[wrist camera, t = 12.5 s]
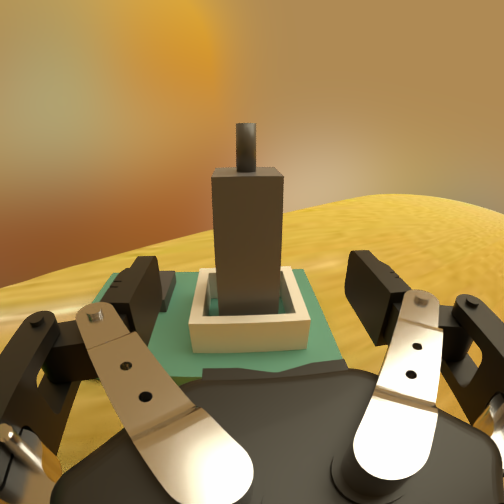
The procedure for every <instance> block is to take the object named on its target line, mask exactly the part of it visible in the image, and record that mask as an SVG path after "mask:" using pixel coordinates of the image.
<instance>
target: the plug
mask: <svg viewBox="0 0 504 504" xmlns="http://www.w3.org/2000/svg"><path fill="white" fill-rule="evenodd" d="M236 166H237V167H235V168H234V167H233V168H216V169H215V171H214V173H213V175H212V177H211V181H212V207H213V229H214V248H215V265H216V281H217V295H218V309H219V316H244V315H271V314H278V309H279V290H280V270H281V246H282V219H283V184H284V176H283V175H282V174H281V173H280V172H279V171H278V170H277V169H276V168H275V167H256V124H255V123H238V124H236Z"/></svg>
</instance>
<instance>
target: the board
mask: <svg viewBox="0 0 504 504" xmlns="http://www.w3.org/2000/svg"><path fill="white" fill-rule="evenodd" d="M118 274H119V273H113V274H112V275H111V276H110V278H109V279H108V281H107V282H106V283H105V285H104V286H103V288H102V289H101V291H100V292H99V293H98V295H97V296H96V298H95V299H94V301H93V302H92V303H96V302H100V300H101V299H102V297H103V295H104V294H105V292H106V291H107V289H108V288H110V285H111V283H112V282H113V280H114V279H115V277H116V276H117V275H118ZM159 274H160V280H161V286H162V294H163V298H162V305H161V308H160V311H159V314H158V317H157V320H156V323H155V326H154V329H153V332H152V335H151V338H150V341H149V344H148V349H149V350H150V351H151V353H152V354H153V355H154V357H155V358H156V359H157V361H158V362H159V363H160V364H161V366H162V367H163V368H164V369H165V371H166V372H167V373H168V374H169V376H170V377H171V378H172V379H173V381H174V382H175V383H176V384H177V385H178V386H180V385H182V384H185V383H187V382H190V381H194V380H197V379H202V370H203V368H244V369H251V370H259V371H266V372H281V371H285V370H288V369H292V368H295V367H299V366H302V365H305V364H309V363H313V362H322V361H330V360H338V359H343V358H342V356H341V354H340V351H339V349H338V346H337V344H336V342H335V339H334V337H333V335H332V333H331V330H330V328H329V326H328V323H327V321H326V319H325V316H324V314H323V312H322V310H321V307H320V305H319V303H318V301H317V298H316V296H315V294H314V292H313V290H312V287H311V285H310V283H309V281H308V279H307V276H306V274H305V272H304V270H303V269H291V266H281V270H280V290H279V309H278V314H271V315H244V316H219V309H218V295H217V281H216V268H200V271H199V272H175V271H159ZM96 379H98V380H100V379H99V378H96Z"/></svg>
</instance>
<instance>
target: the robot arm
mask: <svg viewBox="0 0 504 504" xmlns="http://www.w3.org/2000/svg"><path fill="white" fill-rule="evenodd" d="M345 295H346V298H347V299H348V301H349V303H350V304H351V306H352V308H353V309H354V311H355V312H356V314H357V316H358V317H359V319H360V321H361V322H362V324H363V326H364V327H365V329H366V331H367V333H368V334H369V336H370V338H371V339H372V341H373V343H374V345H375V346H381V345H388V349H387V352H386V355H385V357H384V360H383V363H382V366H381V369H380V371H379V374H378V375H376V374H373V373H370V372H367V371H363V370H359V369H351V368H348V367H347V364H346V362H345V360H344V359H338V360H330V361H322V362H313V363H309V364H305V365H302V366H299V367H295V368H292V369H288V370H285V371H281V372H266V371H259V370H251V369H244V368H203V370H202V379H197V380H194V381H190V382H187V383H185V384H182V385H180V386H178V385H177V384H176V383H175V382H174V381H173V379H172V378H171V377H170V376H169V374H168V373H167V372H166V371H165V369H164V368H163V367H162V366H161V364H160V363H159V362H158V361H157V359H156V358H155V357H154V355H153V354H152V353H151V351H150V350H149V349H148V344H149V341H150V338H151V335H152V332H153V329H154V326H155V323H156V320H157V317H158V314H159V311H160V308H161V305H162V298H163V294H162V286H161V280H160V274H159V267H158V261H157V258H156V256H138V257H137V258H136V260H135V261H134V263H133V264H132V266H131V267H130V268H126V269H124V270H123V271H122V272H120V273H119V274H118V275H117V276H116V277H115V279H114V280H113V282H112V283H111V285H110V288H108V289H107V291H106V292H105V294H104V295H103V297H102V299H101V300H100V302H96V303H92V304H89V305H86V306H84V307H83V308H81V309H80V310H79V311H78V313H77V314H76V320H73V321H67V322H61V323H57V320H56V318H55V315H54V314H53V313H52V312H50V311H39V312H36V313H34V314H32V315H30V316H29V317H27V318H26V319H25V320H24V321H23V323H22V324H21V325H20V327H19V328H18V330H17V331H16V332H15V334H14V335H13V337H12V338H11V339H10V341H9V342H8V344H7V345H6V347H5V348H4V350H3V351H2V353H1V354H0V504H504V488H503V477H504V323H503V322H502V321H501V320H500V319H499V318H498V317H497V316H496V315H495V314H494V313H493V312H492V311H491V310H490V309H489V308H488V307H487V306H486V305H485V304H484V303H483V302H482V301H481V300H480V299H478V298H476V297H474V296H472V295H467V294H462V295H459V296H457V298H456V301H455V303H454V306H443V305H439V301H438V299H437V298H436V297H435V296H434V295H432V294H431V293H429V292H426V291H423V290H412V289H411V288H410V287H409V286H408V285H407V284H406V283H405V282H404V281H403V280H402V279H401V278H399V276H398V275H397V274H396V273H395V272H394V271H393V270H392V269H391V268H390V267H389V266H388V265H386V264H385V263H383V262H381V261H379V260H378V259H377V258H376V257H375V256H374V255H373V254H372V253H371V252H370V251H369V250H358V251H351V252H350V254H349V259H348V266H347V273H346V279H345ZM473 340H474V342H475V343H476V344H477V345H478V347H479V348H480V349H481V351H482V362H481V364H480V366H479V368H478V367H477V366H476V365H475V363H474V362H473V360H472V359H471V358H470V356H469V355H468V353H467V352H468V350H469V348H470V346H471V344H472V342H473ZM41 368H42V370H43V371H44V373H45V374H44V376H43V378H42V380H41V382H40V384H39V387H38V388H37V383H36V379H37V375H38V372H39V371H40V369H41ZM440 372H441V373H442V375H443V377H444V378H445V380H446V382H447V383H448V385H449V387H450V388H451V390H452V392H453V393H454V395H455V397H456V399H457V400H458V402H459V404H460V406H461V408H462V409H463V411H464V413H465V415H466V417H467V419H468V420H469V422H470V424H471V425H469V424H467V423H466V422H464V421H462V420H460V419H458V418H456V417H454V416H452V415H450V414H448V413H446V412H444V411H442V410H441V409H439V408H437V407H436V405H435V402H436V396H437V389H438V382H439V374H440ZM96 378H99V379H100V381H101V383H102V385H103V387H104V389H105V391H106V394H107V396H108V398H109V400H110V401H111V403H112V405H113V407H114V409H115V411H116V413H117V415H118V417H119V418H120V420H121V422H122V424H123V426H124V428H123V429H122V430H121V431H119V432H118V433H117V434H116V435H114V436H113V437H112V438H110V439H109V440H108V441H107V442H105V443H104V444H103V445H101V446H100V447H99V448H97V449H96V450H95V451H93V452H92V453H91V454H89V455H88V456H87V457H85V458H84V459H83V460H81V461H80V462H79V463H77V464H76V465H75V466H73V467H72V468H70V469H69V470H68V471H66V472H65V473H64V474H63V475H62V467H61V463H60V461H59V460H58V458H57V457H56V456H57V452H58V449H59V445H60V442H61V439H62V435H63V432H64V429H65V426H66V423H67V420H68V416H69V413H70V410H71V408H72V405H73V402H74V399H75V396H76V393H77V391H78V388H79V385H80V383H81V381H82V380H89V379H96ZM61 475H62V476H61Z"/></svg>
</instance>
